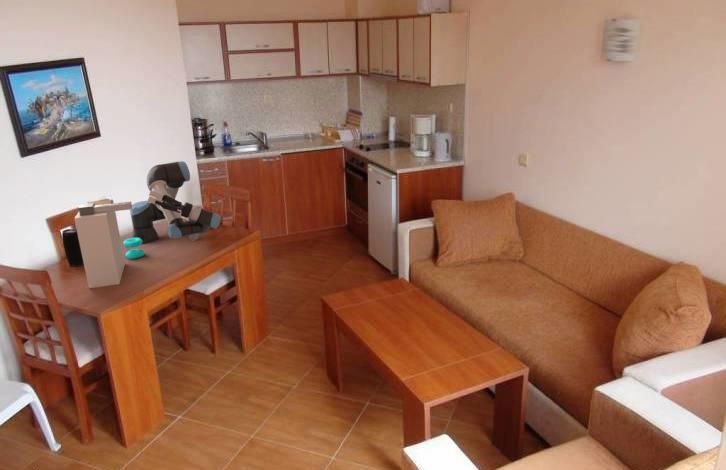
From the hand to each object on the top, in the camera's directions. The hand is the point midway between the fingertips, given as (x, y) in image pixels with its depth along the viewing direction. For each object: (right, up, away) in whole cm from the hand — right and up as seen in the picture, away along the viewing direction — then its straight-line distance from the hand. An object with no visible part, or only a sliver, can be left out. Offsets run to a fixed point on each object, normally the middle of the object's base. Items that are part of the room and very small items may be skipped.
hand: (149, 195), depth 279 cm
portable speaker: (-51, -36, +30) cm, 69 cm away
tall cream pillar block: (-26, -41, +12) cm, 50 cm away
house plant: (+5, -22, +64) cm, 68 cm away
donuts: (-22, -32, +39) cm, 55 cm away
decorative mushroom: (+2, -15, +86) cm, 88 cm away
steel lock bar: (-19, -8, -4) cm, 21 cm away
